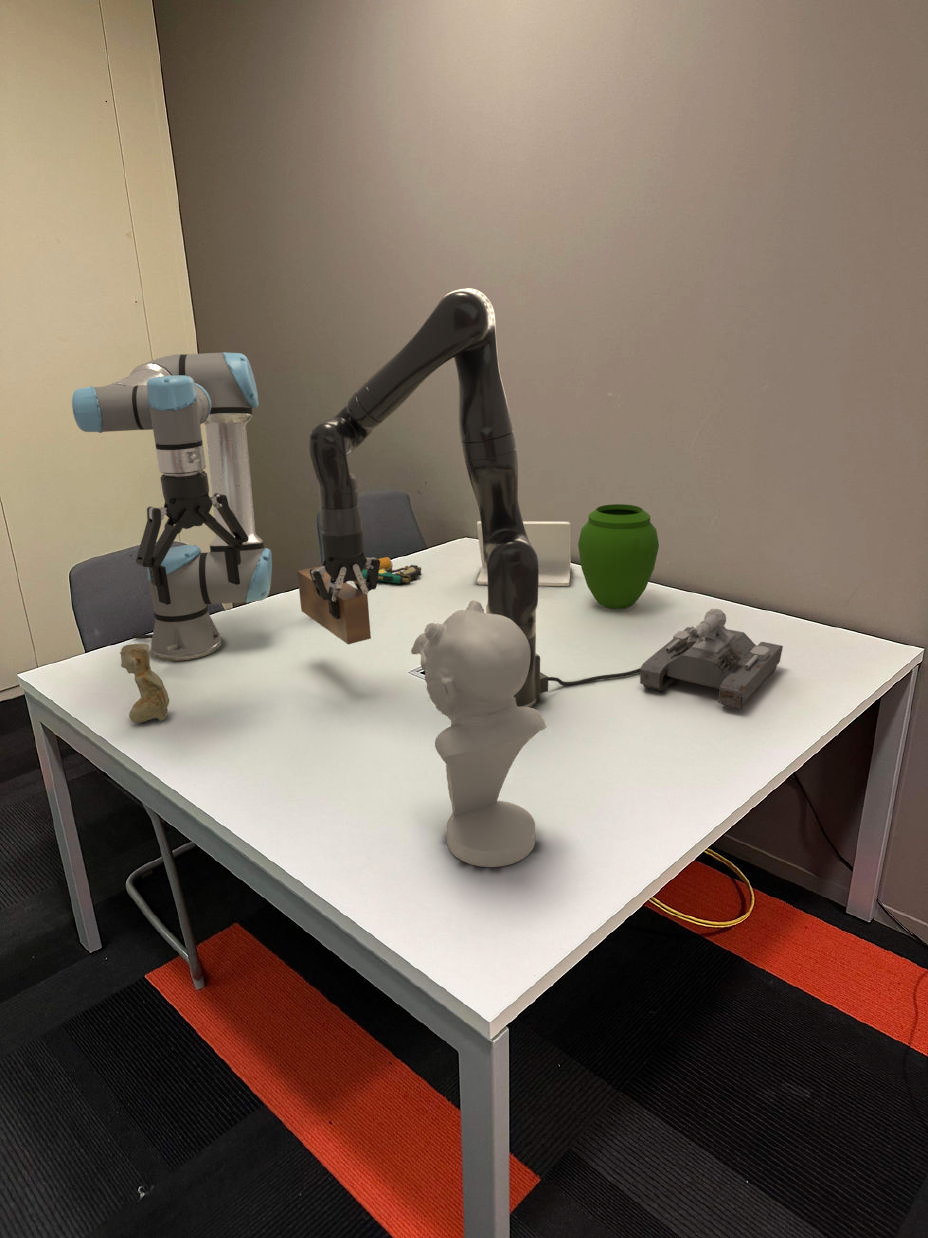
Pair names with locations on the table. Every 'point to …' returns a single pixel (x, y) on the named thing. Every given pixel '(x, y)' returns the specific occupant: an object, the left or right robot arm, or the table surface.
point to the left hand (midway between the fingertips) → (200, 592)
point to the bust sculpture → (481, 729)
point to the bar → (351, 609)
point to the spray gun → (387, 571)
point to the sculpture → (145, 684)
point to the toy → (713, 661)
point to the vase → (618, 554)
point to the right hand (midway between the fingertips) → (349, 614)
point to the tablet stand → (543, 551)
